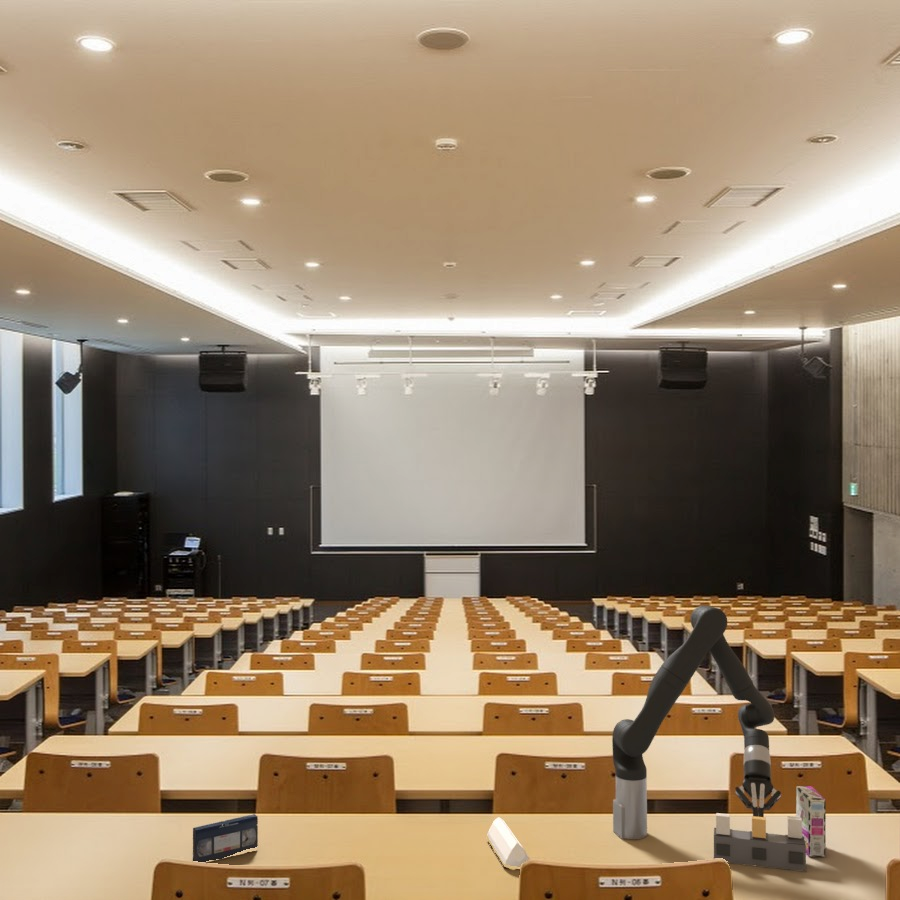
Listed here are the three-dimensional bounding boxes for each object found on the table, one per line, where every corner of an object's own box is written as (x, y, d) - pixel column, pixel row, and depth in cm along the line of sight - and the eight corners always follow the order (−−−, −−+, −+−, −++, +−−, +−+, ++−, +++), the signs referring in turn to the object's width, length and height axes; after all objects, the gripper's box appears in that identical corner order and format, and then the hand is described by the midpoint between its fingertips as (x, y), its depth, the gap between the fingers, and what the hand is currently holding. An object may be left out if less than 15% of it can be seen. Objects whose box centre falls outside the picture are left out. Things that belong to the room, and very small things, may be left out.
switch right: (788, 837, 259) (787, 818, 259) (787, 834, 261) (787, 816, 261) (802, 838, 258) (801, 820, 258) (801, 835, 260) (801, 817, 260)
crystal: (478, 826, 278) (499, 859, 254) (499, 812, 279) (521, 844, 256) (491, 847, 278) (512, 882, 255) (511, 833, 280) (534, 867, 256)
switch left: (716, 833, 262) (716, 815, 262) (716, 831, 264) (716, 813, 264) (729, 835, 261) (729, 816, 261) (729, 832, 263) (729, 814, 263)
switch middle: (752, 836, 259) (751, 818, 260) (752, 834, 261) (751, 816, 261) (765, 838, 258) (765, 820, 258) (765, 835, 260) (765, 817, 260)
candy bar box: (827, 857, 263) (826, 798, 264) (809, 857, 264) (808, 798, 264) (812, 842, 275) (812, 785, 275) (795, 841, 275) (795, 785, 275)
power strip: (713, 862, 261) (713, 835, 261) (714, 852, 267) (714, 827, 267) (806, 872, 254) (805, 845, 254) (804, 862, 260) (804, 836, 260)
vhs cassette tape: (195, 866, 260) (195, 830, 260) (191, 862, 262) (191, 826, 262) (258, 851, 269) (258, 816, 270) (255, 848, 272) (254, 813, 272)
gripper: (733, 756, 273) (733, 813, 261) (781, 760, 269) (784, 818, 257) (733, 769, 278) (733, 826, 266) (780, 773, 274) (783, 831, 262)
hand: (758, 822), depth 262 cm, fingers closed
